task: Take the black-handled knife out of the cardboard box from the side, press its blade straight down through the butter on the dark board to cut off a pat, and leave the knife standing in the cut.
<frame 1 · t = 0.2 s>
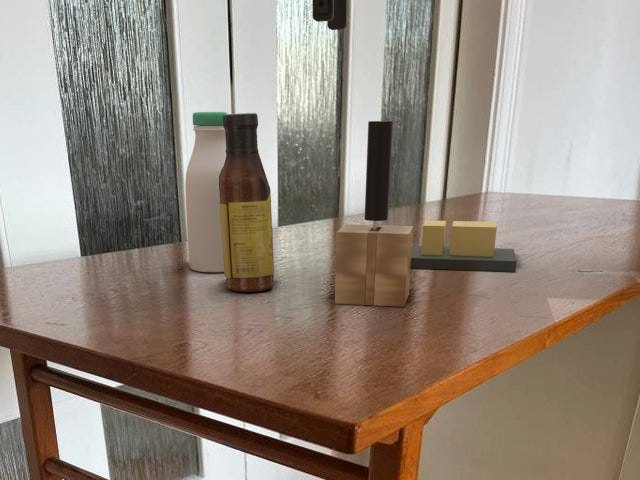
hand: (330, 25, 85), 29 cm above the table, tool pointing down, fingers open, 8 cm apart
milk bottle: (217, 269, 107), on the table
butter: (456, 263, 109), on the table
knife: (376, 214, 85), in the cardboard box
cardboard box: (372, 299, 89), on the table
sauce bottle: (248, 290, 95), on the table
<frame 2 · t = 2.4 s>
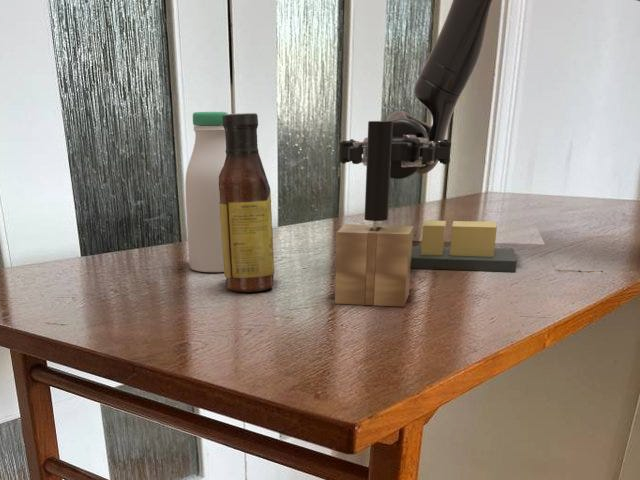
hand: (390, 154, 93), 15 cm above the table, tool horizontal, fingers open, 8 cm apart
nothing on the table moved.
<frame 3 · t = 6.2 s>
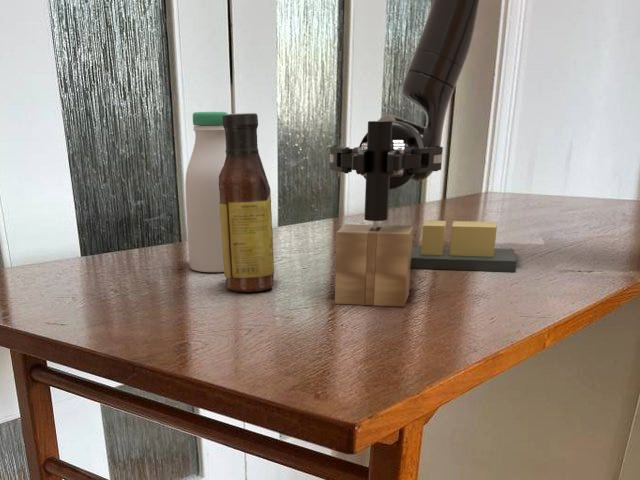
hand: (375, 163, 80), 15 cm above the table, tool horizontal, fingers closed on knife, 2 cm apart
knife: (376, 214, 85), in the cardboard box, touching gripper
everything else where it was.
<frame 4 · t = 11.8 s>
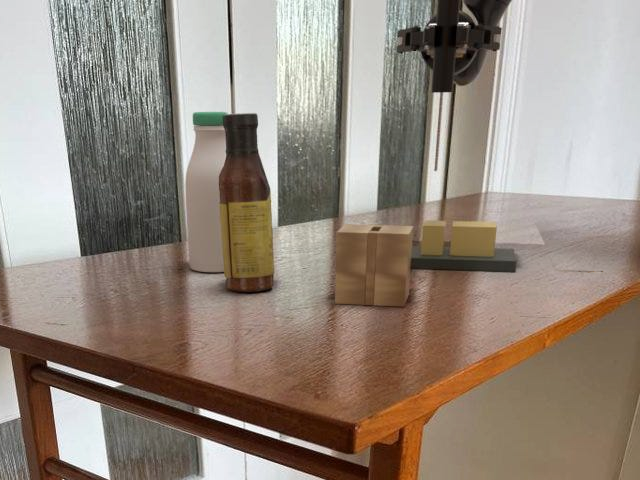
hand: (445, 34, 88), 28 cm above the table, tool horizontal, fingers closed on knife, 2 cm apart
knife: (442, 87, 93), point 22 cm above the table, touching gripper
everything else where it was.
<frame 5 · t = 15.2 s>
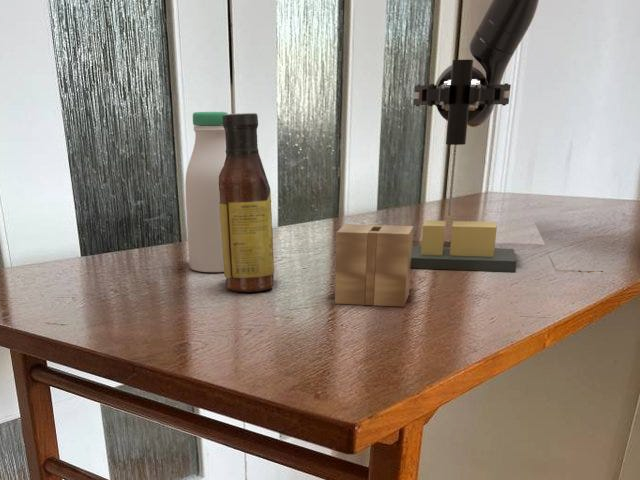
hand: (459, 94, 97), 22 cm above the table, tool horizontal, fingers closed on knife, 2 cm apart
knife: (455, 140, 102), point 16 cm above the table, touching gripper
everything else where it was.
when the fingers open (17 cm above the table, at t = 17.6 s): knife stays where it is, resting on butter.
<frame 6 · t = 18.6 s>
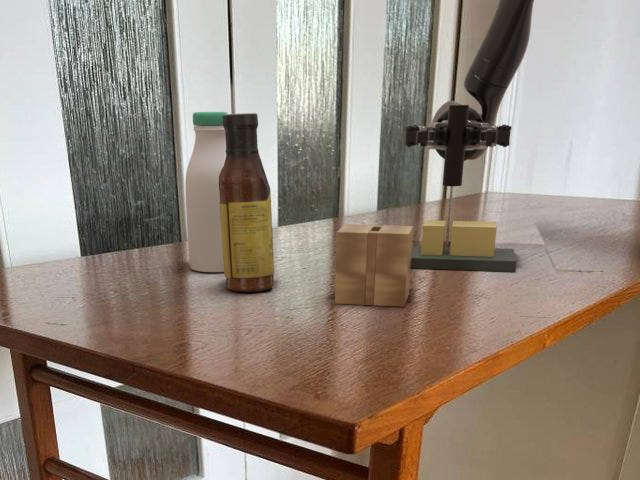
hand: (456, 137, 100), 17 cm above the table, tool horizontal, fingers open, 8 cm apart
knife: (452, 181, 104), point 11 cm above the table, touching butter
everything else where it was.
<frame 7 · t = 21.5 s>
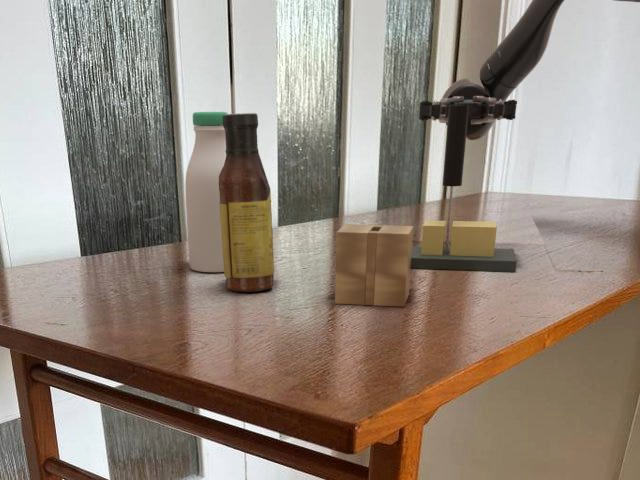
hand: (466, 110, 109), 20 cm above the table, tool horizontal, fingers open, 8 cm apart
nothing on the table moved.
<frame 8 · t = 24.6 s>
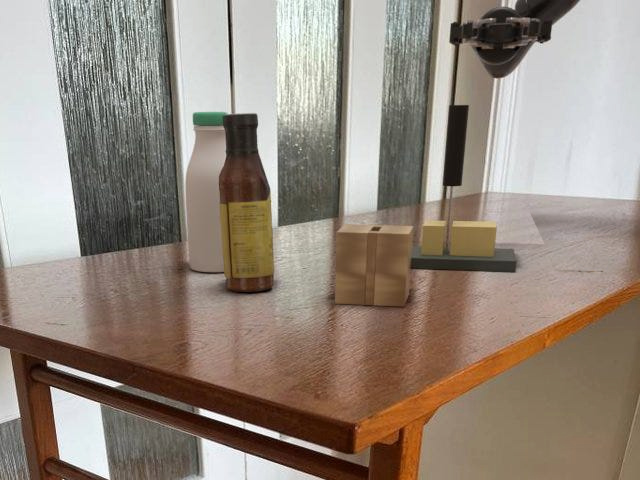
hand: (501, 28, 104), 30 cm above the table, tool horizontal, fingers open, 8 cm apart
nothing on the table moved.
at the end: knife 0.1 cm from the target spot on the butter, point 11.0 cm above the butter's base; the gripper is holding nothing; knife tilted 0° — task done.
